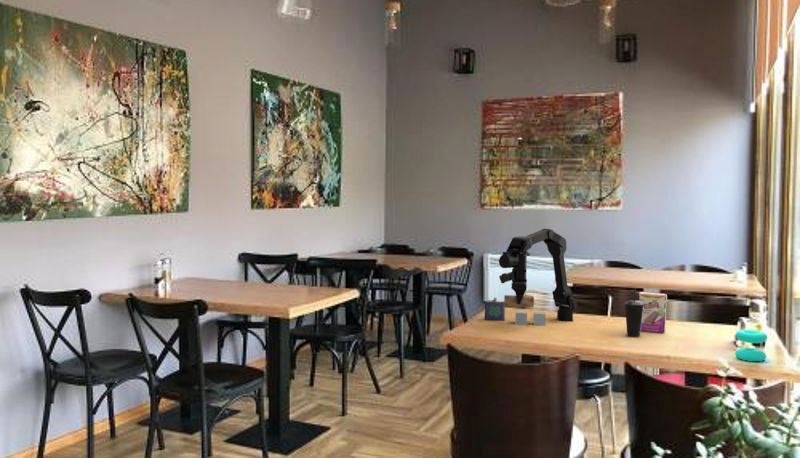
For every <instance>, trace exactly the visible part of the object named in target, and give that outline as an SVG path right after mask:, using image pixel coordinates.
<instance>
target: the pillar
mask: <svg viewBox="0 0 800 458" xmlns="http://www.w3.org/2000/svg"><path fill="white" fill-rule="evenodd" d="M533 323H534V325H533V326H538V325H543V326H542V327H545V324H546V312H543V311H533Z"/></svg>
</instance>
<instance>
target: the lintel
mask: <svg viewBox="0 0 800 458" xmlns="http://www.w3.org/2000/svg"><path fill="white" fill-rule="evenodd" d="M503 298H504V300H503V301H504V305H505V307H507V308H508V307H510V308H512V307H514V308H516V307H517V308H534V307H535V303H534V302H535V301H534V300H535V298H534V296H533V295H524V296H523V298H522V301H521V303H520V304H517V298H516V295H506V294H505V295H504V297H503Z"/></svg>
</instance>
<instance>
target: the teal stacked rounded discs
mask: <svg viewBox="0 0 800 458" xmlns="http://www.w3.org/2000/svg"><path fill="white" fill-rule="evenodd" d="M735 336H736V338H737V339H738V340H739V341H741V342H744V343H749V344H761V343H764V342H766V341H767V339H768V336H767V334H766V333H765V332H763V331H760V330H756V329H755V330H754V329H740V330H737V331H736V332H735ZM734 355H735V357H736V358H737V359H739V360H741V359H742V361H745V360H748V361H747V362H751V361H760V362H764V361H765V360H766V358H767V355H766V352H764V351H763V350H761V349H758V348H754V347H741V348H738V349H737V350H735V353H734ZM763 360H764V361H763Z"/></svg>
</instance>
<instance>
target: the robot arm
mask: <svg viewBox="0 0 800 458" xmlns="http://www.w3.org/2000/svg"><path fill="white" fill-rule="evenodd" d="M540 242H543V243H544V244H545V245H546V247H547V251H548V253H550V256H551V257H552V262H553V270H554V277H555V285H556V286H555V289H554V290H553V291H552V300H553V302H554V306H555V308H557V307H558V309H557V310H556V311H557V312H556V313H557V314H556V319H557V320H558V322H568V323H569V322H571V323H572V322H574V309H576V308H577V307H578V302H577V301H576V299H575V298H574V295H573V291H572V289H571V288H570V287H569V285H568V279H567V273H566V272H567V271H566V262H565V256H564V255H565V253H566V251H567V240H566V238H565V237H563V236H562V235H560V234H558V233H557V232H555V231H554V230H553V229H551V228H541V230H538V231H536V232H533V233H530V234H528V235H524V236H523V235H522V236H514V237H512V238H511V241H510V243H509V245H508V246H507V248H506V251H502V254H501V256H500V257H499V259H498V263H499V265H500V268H502V269H511V268H512V269H511V271H509V272H507V273H506V272H504V273H501V275H498V276H499V277H498V278H499V280H500V283H501V284H505V283H507V282H510V281H511V287H510V288H511V290H513V292H515V296H516V298H517V304H520V303H521V301H522V298H523V296H525V294H526V291H527V285H528V284H527V283H528V279H527V262H528V261H527V258H528V257H529V256H531V254H530V252H528V251H529V250H530V249H532V247H533V245H535V244H537V243H540ZM527 256H528V257H527Z"/></svg>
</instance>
